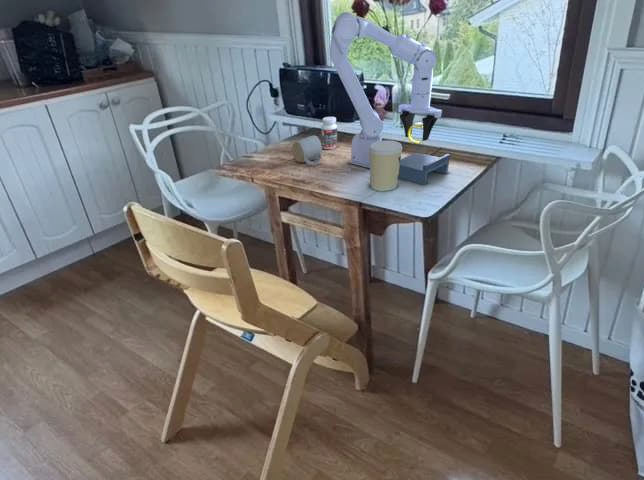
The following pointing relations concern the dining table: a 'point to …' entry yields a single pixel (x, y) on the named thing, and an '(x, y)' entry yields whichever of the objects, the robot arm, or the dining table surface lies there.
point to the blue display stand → (422, 166)
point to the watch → (417, 124)
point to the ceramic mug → (308, 150)
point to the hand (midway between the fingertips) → (416, 138)
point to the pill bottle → (329, 133)
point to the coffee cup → (384, 164)
